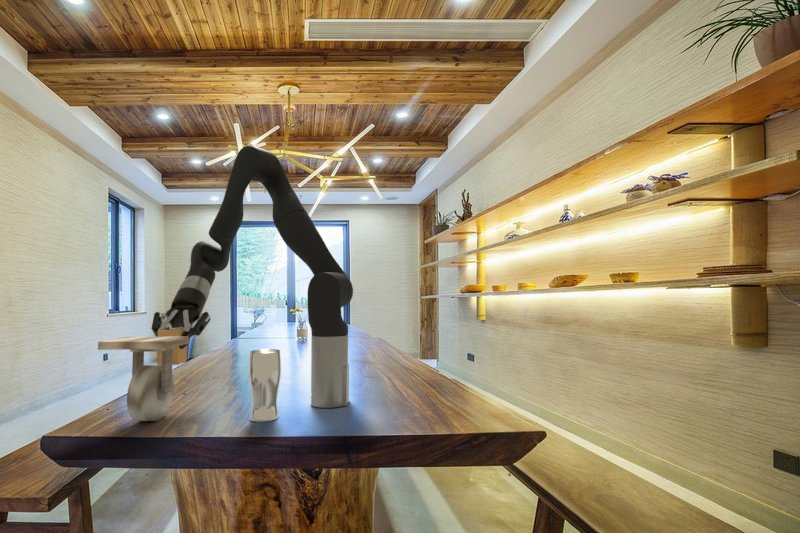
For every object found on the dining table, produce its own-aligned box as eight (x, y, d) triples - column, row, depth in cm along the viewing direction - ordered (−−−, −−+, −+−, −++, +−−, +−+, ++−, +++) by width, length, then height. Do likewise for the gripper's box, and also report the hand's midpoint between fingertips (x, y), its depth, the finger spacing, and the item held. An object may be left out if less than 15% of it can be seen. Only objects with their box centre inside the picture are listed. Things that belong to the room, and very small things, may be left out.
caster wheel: (194, 411, 103) (196, 334, 104) (164, 430, 89) (167, 341, 90) (134, 412, 103) (136, 334, 104) (95, 431, 89) (98, 341, 90)
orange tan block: (186, 361, 109) (187, 329, 110) (178, 364, 105) (178, 331, 105) (166, 361, 109) (167, 329, 109) (156, 364, 105) (157, 331, 105)
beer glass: (286, 418, 98) (287, 350, 99) (258, 425, 93) (258, 354, 94) (270, 412, 103) (270, 348, 104) (242, 418, 98) (243, 351, 99)
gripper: (160, 286, 115) (132, 337, 102) (215, 286, 116) (194, 337, 103) (169, 305, 120) (144, 356, 107) (222, 305, 121) (203, 356, 108)
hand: (168, 346), depth 105 cm, fingers closed on orange tan block, 5 cm apart
